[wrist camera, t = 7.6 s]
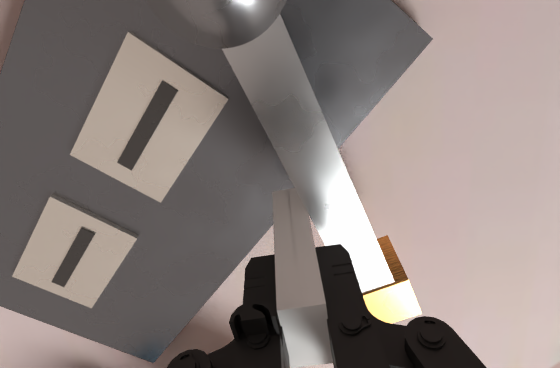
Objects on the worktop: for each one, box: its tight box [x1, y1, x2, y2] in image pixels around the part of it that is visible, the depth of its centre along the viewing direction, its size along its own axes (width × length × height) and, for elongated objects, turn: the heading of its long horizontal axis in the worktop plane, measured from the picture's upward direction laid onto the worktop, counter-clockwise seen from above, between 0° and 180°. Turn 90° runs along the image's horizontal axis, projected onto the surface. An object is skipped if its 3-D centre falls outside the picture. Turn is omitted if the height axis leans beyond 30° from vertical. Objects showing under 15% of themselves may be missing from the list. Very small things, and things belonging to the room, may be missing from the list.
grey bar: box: [146, 0, 422, 323], centre depth 15 cm, size 18×4×6 cm, turn 25°
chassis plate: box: [0, 0, 433, 363], centre depth 19 cm, size 28×15×2 cm, turn 144°
